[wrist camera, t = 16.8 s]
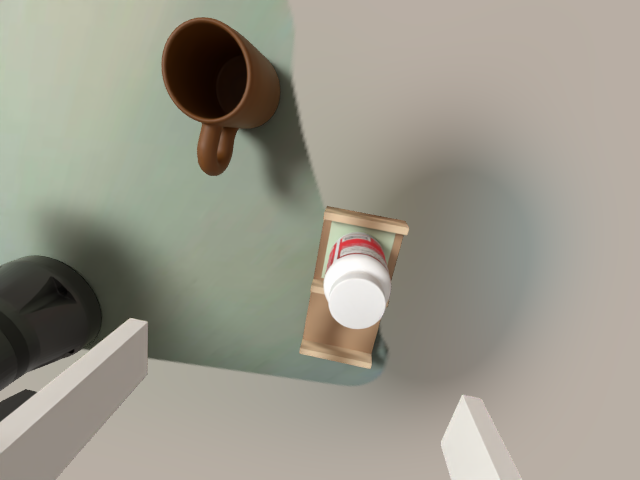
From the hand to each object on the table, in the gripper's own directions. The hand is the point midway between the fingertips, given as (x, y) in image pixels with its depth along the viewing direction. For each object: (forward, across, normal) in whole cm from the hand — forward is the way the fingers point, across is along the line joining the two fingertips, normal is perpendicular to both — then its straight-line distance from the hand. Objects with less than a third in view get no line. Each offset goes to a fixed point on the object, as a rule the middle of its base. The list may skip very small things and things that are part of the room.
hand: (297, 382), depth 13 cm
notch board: (+24, +4, -7) cm, 26 cm away
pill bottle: (+23, +4, -2) cm, 24 cm away
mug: (+25, -12, +10) cm, 29 cm away
